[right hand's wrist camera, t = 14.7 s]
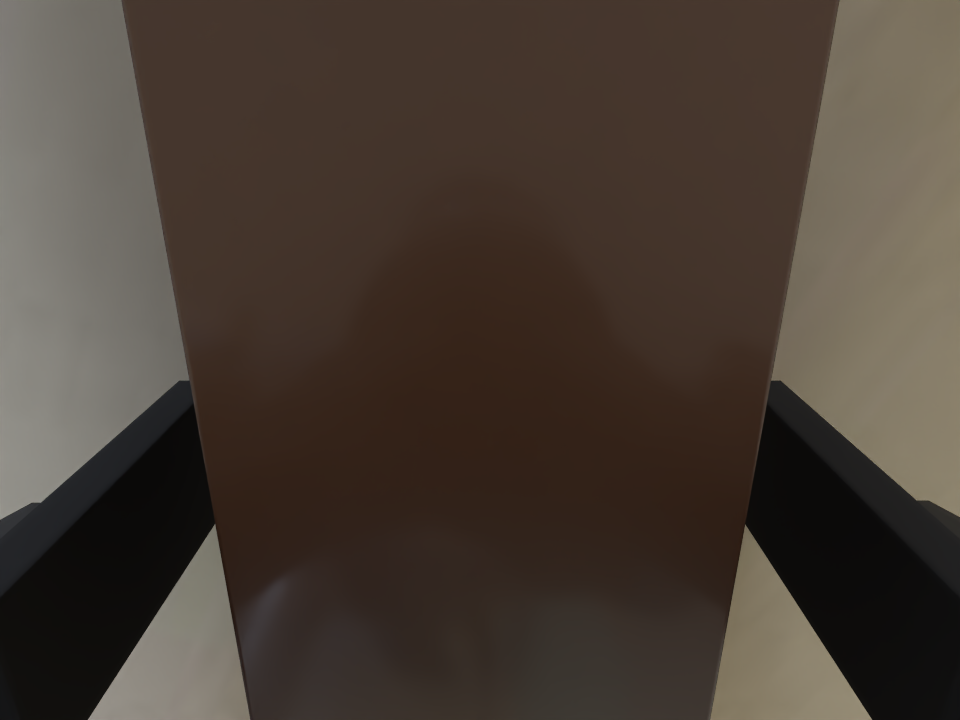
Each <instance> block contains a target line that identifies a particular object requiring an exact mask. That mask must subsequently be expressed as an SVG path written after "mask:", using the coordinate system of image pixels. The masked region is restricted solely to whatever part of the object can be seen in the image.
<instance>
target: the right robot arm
mask: <svg viewBox="0 0 960 720" xmlns="http://www.w3.org/2000/svg"><path fill="white" fill-rule="evenodd" d="M214 525H215V519H214V513H213V508H212V502H211V496H210V491H209V485H208V480H207V474H206V469H205V463H204V457H203V452H202V446H201V441H200V435H199V430H198V424H197V418H196V413H195V407H194V402H193V396H192V390H191V385H190V381H179V382H177V383H176V384H175V385H174V386H173V387H172V388H171V389H170V390H168V391H167V392H166V393H165V394H164V395H163V396H162V397H160V398H159V399H158V400H157V401H156V402H155V403H154V404H153V405H151V406H150V407H149V408H148V409H147V410H146V411H145V412H143V413H142V414H141V415H140V416H139V417H138V418H137V419H136V420H134V421H133V422H132V423H131V424H130V425H129V426H128V427H126V428H125V429H124V430H123V431H122V432H121V433H120V434H118V435H117V436H116V437H115V438H114V439H113V440H112V441H111V442H109V443H108V444H107V445H106V446H105V447H104V448H103V449H101V450H100V451H99V452H98V453H97V454H96V455H95V456H94V457H92V458H91V459H90V460H89V461H88V462H87V463H86V464H84V465H83V466H82V467H81V468H80V469H79V470H78V471H77V472H75V473H74V474H73V475H72V476H71V477H70V478H69V479H67V480H66V481H65V482H64V483H63V484H62V485H61V486H59V487H58V488H57V489H56V490H55V491H54V492H53V493H52V494H50V495H49V496H48V497H47V498H46V499H45V500H44V501H42V502H41V503H31V504H29V505H27V506H25V507H23V508H21V509H20V510H18V511H16V512H14V513H12V514H10V515H8V516H7V517H5V518H3V519H1V520H0V720H88V718H89V717H90V715H91V714H92V712H93V711H94V709H95V708H96V706H97V705H98V703H99V702H100V700H101V698H102V697H103V695H104V694H105V692H106V691H107V689H108V688H109V686H110V685H111V683H112V682H113V680H114V678H115V677H116V675H117V674H118V672H119V671H120V669H121V668H122V666H123V665H124V663H125V662H126V660H127V658H128V657H129V655H130V654H131V652H132V651H133V649H134V648H135V646H136V645H137V643H138V641H139V640H140V638H141V637H142V635H143V634H144V632H145V631H146V629H147V628H148V626H149V625H150V623H151V621H152V620H153V618H154V617H155V615H156V614H157V612H158V611H159V609H160V608H161V606H162V605H163V603H164V601H165V600H166V598H167V597H168V595H169V594H170V592H171V591H172V589H173V588H174V586H175V585H176V583H177V581H178V580H179V578H180V577H181V575H182V574H183V572H184V571H185V569H186V568H187V566H188V565H189V563H190V561H191V560H192V558H193V557H194V555H195V554H196V552H197V551H198V549H199V548H200V546H201V545H202V543H203V541H204V540H205V538H206V537H207V535H208V534H209V532H210V531H211V529H212V528H213V526H214ZM745 525H746V526H747V528H748V529H749V531H750V532H751V534H752V535H753V537H754V538H755V540H756V541H757V543H758V545H759V546H760V548H761V549H762V551H763V552H764V554H765V555H766V557H767V558H768V560H769V561H770V563H771V565H772V566H773V568H774V569H775V571H776V572H777V574H778V575H779V577H780V578H781V580H782V581H783V583H784V585H785V586H786V588H787V589H788V591H789V592H790V594H791V595H792V597H793V598H794V600H795V601H796V603H797V605H798V606H799V608H800V609H801V611H802V612H803V614H804V615H805V617H806V618H807V620H808V621H809V623H810V625H811V626H812V628H813V629H814V631H815V632H816V634H817V635H818V637H819V638H820V640H821V641H822V643H823V645H824V646H825V648H826V649H827V651H828V652H829V654H830V655H831V657H832V658H833V660H834V661H835V663H836V665H837V666H838V668H839V669H840V671H841V672H842V674H843V675H844V677H845V678H846V680H847V681H848V683H849V685H850V686H851V688H852V689H853V691H854V692H855V694H856V695H857V697H858V698H859V700H860V702H861V703H862V705H863V706H864V708H865V709H866V711H867V712H868V714H869V715H870V717H871V718H872V720H960V517H958V516H956V515H954V514H953V513H951V512H949V511H947V510H945V509H943V508H941V507H940V506H938V505H936V504H934V503H932V502H930V501H916V500H915V499H914V498H913V497H912V496H911V495H910V494H908V493H907V492H906V491H905V490H904V489H903V488H902V487H901V486H899V485H898V484H897V483H896V482H895V481H894V480H893V479H891V478H890V477H889V476H888V475H887V474H886V473H885V472H884V471H882V470H881V469H880V468H879V467H878V466H877V465H876V464H874V463H873V462H872V461H871V460H870V459H869V458H868V457H866V456H865V455H864V454H863V453H862V452H861V451H860V450H859V449H857V448H856V447H855V446H854V445H853V444H852V443H851V442H849V441H848V440H847V439H846V438H845V437H844V436H843V435H842V434H840V433H839V432H838V431H837V430H836V429H835V428H834V427H832V426H831V425H830V424H829V423H828V422H827V421H826V420H825V419H823V418H822V417H821V416H820V415H819V414H818V413H817V412H815V411H814V410H813V409H812V408H811V407H810V406H809V405H807V404H806V403H805V402H804V401H803V400H802V399H801V398H800V397H798V396H797V395H796V394H795V393H794V392H793V391H792V390H790V389H789V388H788V387H787V386H786V385H785V384H784V383H783V382H781V381H771V383H770V389H769V394H768V400H767V405H766V411H765V416H764V422H763V428H762V433H761V439H760V444H759V450H758V455H757V461H756V467H755V472H754V478H753V483H752V489H751V494H750V500H749V505H748V511H747V517H746V522H745Z"/></svg>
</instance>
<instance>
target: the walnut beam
mask: <svg viewBox="0 0 960 720" xmlns="http://www.w3.org/2000/svg"><path fill="white" fill-rule="evenodd" d="M122 5H123V11H124V17H125V22H126V28H127V33H128V39H129V45H130V50H131V56H132V61H133V67H134V72H135V78H136V84H137V89H138V95H139V100H140V106H141V111H142V117H143V123H144V128H145V134H146V139H147V145H148V151H149V156H150V162H151V167H152V173H153V178H154V184H155V190H156V195H157V201H158V206H159V212H160V217H161V223H162V229H163V234H164V240H165V245H166V251H167V257H168V262H169V268H170V273H171V279H172V284H173V290H174V296H175V301H176V307H177V312H178V318H179V324H180V329H181V335H182V340H183V346H184V351H185V357H186V363H187V368H188V374H189V379H190V385H191V390H192V396H193V402H194V407H195V413H196V418H197V424H198V430H199V435H200V441H201V446H202V452H203V457H204V463H205V469H206V474H207V480H208V485H209V491H210V496H211V502H212V508H213V513H214V519H215V524H216V530H217V536H218V541H219V547H220V552H221V558H222V563H223V569H224V575H225V580H226V586H227V591H228V597H229V603H230V608H231V614H232V619H233V625H234V630H235V636H236V642H237V647H238V653H239V658H240V664H241V669H242V675H243V681H244V686H245V692H246V697H247V703H248V709H249V714H250V720H710V717H711V711H712V706H713V700H714V694H715V689H716V683H717V678H718V672H719V667H720V661H721V656H722V650H723V644H724V639H725V633H726V628H727V622H728V617H729V611H730V605H731V600H732V594H733V589H734V583H735V578H736V572H737V567H738V561H739V555H740V550H741V544H742V539H743V533H744V528H745V522H746V517H747V511H748V505H749V500H750V494H751V489H752V483H753V478H754V472H755V467H756V461H757V455H758V450H759V444H760V439H761V433H762V428H763V422H764V416H765V411H766V405H767V400H768V394H769V389H770V383H771V378H772V372H773V366H774V361H775V355H776V350H777V344H778V339H779V333H780V328H781V322H782V316H783V311H784V305H785V300H786V294H787V289H788V283H789V278H790V272H791V266H792V261H793V255H794V250H795V244H796V239H797V233H798V227H799V222H800V216H801V211H802V205H803V200H804V194H805V189H806V183H807V177H808V172H809V166H810V161H811V155H812V150H813V144H814V139H815V133H816V127H817V122H818V116H819V111H820V105H821V100H822V94H823V88H824V83H825V77H826V72H827V66H828V61H829V55H830V50H831V44H832V38H833V33H834V27H835V22H836V16H837V11H838V5H839V0H122Z"/></svg>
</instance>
